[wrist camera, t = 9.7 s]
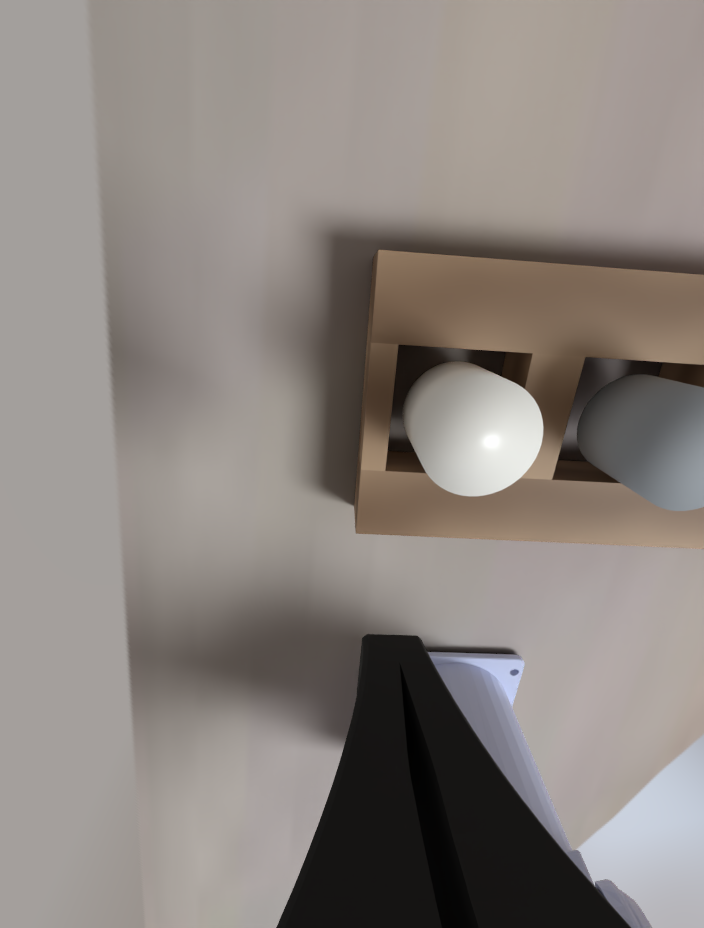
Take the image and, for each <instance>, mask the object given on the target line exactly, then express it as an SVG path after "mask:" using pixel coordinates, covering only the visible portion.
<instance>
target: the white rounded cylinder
mask: <svg viewBox="0 0 704 928" xmlns="http://www.w3.org/2000/svg"><path fill="white" fill-rule="evenodd" d="M402 416H403V424H404V429H405V431H406V434H407V436H408V438H409V440H410V442H411V444H412V446H413V448H414V450H415V452H416V454H417V456H418V458H419V460H420V462H421V464H422V466H423V468H424V470H425V472H426V473H427V475H428V476H429V477H430V478H431V479H432V480H433V481H434V482H435V483H436V484H437V485H438V486H440V487H441V488H443V489H445V490H447V491H449V492H451V493H454V494H458V495H462V496H484V495H488V494H492V493H495V492H498V491H501V490H503V489H505V488H507V487H508V486H510V485H511V484H513V483H515V482H516V481H517V480H518V479H519V478H521V477H522V476H523V475H524V474H525V473H526V472H527V470H528V469H529V468H530V467H531V465H532V464H533V462H534V460H535V459H536V457H537V455H538V452H539V450H540V447H541V444H542V438H543V420H542V415H541V412H540V409H539V407H538V405H537V403H536V402H535V400H534V398H533V397H532V396H531V395H530V394H529V393H528V392H527V391H526V390H525V389H524V388H523V387H521V386H519V385H518V384H516V383H514V382H512V381H510V380H508V379H505V378H503V377H501V376H499V375H497V374H495V373H492V372H490V371H488V370H486V369H484V368H482V367H479V366H477V365H475V364H472V363H468V362H462V361H453V362H446V363H442V364H439V365H437V366H434V367H433V368H431V369H429V370H427V371H426V372H425V373H423V374H422V375H421V376H420V377H419V378H418V379H417V380H416V381H415V382H414V384H413V385H412V386H411V388H410V390H409V391H408V393H407V396H406V398H405V401H404V405H403V415H402Z"/></svg>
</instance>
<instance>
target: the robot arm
mask: <svg viewBox="0 0 704 928" xmlns="http://www.w3.org/2000/svg"><path fill="white" fill-rule="evenodd" d="M523 668H524V661H523V659H522V657H521V656H519V655H513V654H481V653H449V652H427V650H426V648H425V646H424V644H423V642H422V640H421V639H420V638H419V637H418V636H406V635H374V634H367V635H366V636H364V637H363V638H362V646H361V656H360V667H359V677H358V687H357V698H356V703H355V707H354V712H353V716H352V720H351V724H350V728H349V731H348V735H347V738H346V742H345V745H344V749H343V752H342V756H341V759H340V763H339V766H338V769H337V772H336V775H335V778H334V782H333V785H332V788H331V791H330V793H329V796H328V799H327V802H326V805H325V808H324V811H323V813H322V816H321V819H320V822H319V824H318V827H317V830H316V832H315V835H314V837H313V840H312V843H311V845H310V848H309V851H308V853H307V856H306V858H305V861H304V863H303V866H302V868H301V871H300V873H299V876H298V878H297V881H296V883H295V886H294V888H293V891H292V893H291V895H290V898H289V900H288V902H287V904H286V907H285V909H284V911H283V914H282V916H281V918H280V921H279V923H278V925H277V928H652V927H651V925H650V923H649V921H648V920H647V918H646V917H645V915H644V913H643V912H642V910H641V909H640V907H639V906H638V904H636V902H635V901H634V900H633V899H632V898H630V897H629V896H628V895H626V894H625V893H624V892H622V891H621V890H619V889H618V888H617V886H616V885H615V884H614V883H613V882H612V881H610V880H606V879H605V880H600V881H596V882H595V886H594V884H593V881H592V879H591V877H590V874H589V872H588V870H587V867H586V865H585V863H584V861H583V858H582V856H581V854H580V852H579V851H578V850H573V851H572V848H571V846H570V844H569V841H568V839H567V837H566V834H565V832H564V829H563V827H562V825H561V822H560V820H559V818H558V815H557V813H556V810H555V808H554V806H553V803H552V801H551V799H550V796H549V794H548V791H547V789H546V787H545V784H544V782H543V780H542V777H541V775H540V772H539V770H538V768H537V765H536V763H535V761H534V758H533V756H532V753H531V751H530V749H529V746H528V744H527V742H526V739H525V737H524V734H523V732H522V730H521V727H520V725H519V723H518V720H517V718H516V715H515V713H514V711H513V708H512V705H513V702H514V699H515V695H516V692H517V689H518V685H519V682H520V679H521V675H522V672H523Z"/></svg>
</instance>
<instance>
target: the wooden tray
mask: <svg viewBox="0 0 704 928" xmlns="http://www.w3.org/2000/svg"><path fill="white" fill-rule="evenodd" d="M398 345H414V346H429V347H444V348H459V349H474V350H489V351H504V352H506V355H505V360H504V365H503V370H502V375H501V377H503V378H505V379H508V380H510V381H512V382H514V383H516V384H518V385H519V386H521V387H523V388H524V389H525V390H526V391H527V392H528V393H529V394H530V395H531V396H532V397H533V398H534V400H535V402H536V403H537V405H538V407H539V409H540V412H541V415H542V420H543V438H542V444H541V447H540V450H539V452H538V455H537V457H536V459H535V460H534V462H533V464H532V465H531V467H530V468H529V469H528V470H527V472H526V473H525V474H524V475H523V476H522V477H521V478H519V479H518V480H517V481H516V482H515V483H513V484H511V485H510V486H508V487H507V488H505V489H503V490H501V491H498V492H495V493H492V494H488V495H484V496H462V495H458V494H454V493H451V492H449V491H447V490H445V489H443V488H441V487H440V486H438V485H437V484H436V483H435V482H434V481H433V480H432V479H431V478H430V477H429V476H428V475H427V473H426V472H425V470H424V468H423V466H422V464H421V462H420V460H419V458H418V456H417V454H416V452H400V451H387V450H388V440H389V431H390V421H391V412H392V402H393V393H394V383H395V373H396V364H397V354H398ZM585 357H594V358H609V359H624V360H639V361H654V362H663V364H662V367H661V370H660V373H659V376H658V377H660V378H665V379H669V380H673V381H678V382H682V383H686V384H690V385H695V386H699V387H703V388H704V275H699V274H686V273H673V272H660V271H647V270H634V269H621V268H608V267H596V266H583V265H570V264H557V263H544V262H531V261H518V260H505V259H492V258H479V257H466V256H453V255H440V254H427V253H414V252H401V251H389V250H378V251H377V253H376V254H375V256H374V257H373V267H372V280H371V293H370V306H369V319H368V332H367V345H366V358H365V372H364V385H363V398H362V411H361V424H360V437H359V450H358V463H357V477H356V490H355V503H354V511H355V528H356V533H357V534H380V535H402V536H425V537H447V538H469V539H492V540H514V541H537V542H559V543H582V544H604V545H626V546H649V547H671V548H694V549H704V507H702V508H698V509H694V510H687V511H673V510H667V509H663V508H660V507H658V506H656V505H654V504H653V503H651V502H649V501H648V500H646V499H645V498H643V497H642V496H640V495H639V494H637V493H635V492H634V491H632V490H631V489H629V488H628V487H626V486H625V485H623V484H621V483H620V482H618V481H617V480H615V479H614V478H612V477H611V476H609V475H608V474H606V473H604V472H603V471H601V470H600V469H598V468H597V467H595V466H594V465H592V464H591V463H589V462H584V461H566V460H558V456H559V453H560V449H561V445H562V441H563V438H564V434H565V430H566V427H567V423H568V419H569V416H570V412H571V408H572V405H573V401H574V397H575V394H576V390H577V386H578V383H579V379H580V375H581V371H582V368H583V364H584V360H585Z"/></svg>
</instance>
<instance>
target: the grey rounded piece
mask: <svg viewBox="0 0 704 928" xmlns="http://www.w3.org/2000/svg"><path fill="white" fill-rule="evenodd" d="M577 442H578V446H579V449H580V451H581V453H582V455H583V456H584V458H585V459H586V460H587V461H588V462H589V463H591V464H592V465H594V466H595V467H597V468H598V469H600V470H601V471H603V472H604V473H606V474H608V475H609V476H611V477H612V478H614V479H615V480H617V481H618V482H620V483H621V484H623V485H625V486H626V487H628V488H629V489H631V490H632V491H634V492H635V493H637V494H639V495H640V496H642V497H643V498H645V499H646V500H648V501H649V502H651V503H653V504H654V505H656V506H658V507H660V508H663V509H667V510H673V511H687V510H694V509H698V508H702V507H704V388H703V387H699V386H695V385H690V384H686V383H682V382H678V381H673V380H669V379H665V378H660V377H656V376H652V375H646V374H636V375H629V376H625V377H622V378H620V379H617V380H615V381H613V382H611V383H609V384H608V385H606V386H605V387H603V388H602V389H601V390H600V391H598V392H597V393H596V394H595V395H594V396H593V397H592V399H591V400H590V401H589V402H588V404H587V405H586V407H585V409H584V410H583V412H582V414H581V417H580V420H579V423H578V428H577Z"/></svg>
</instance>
